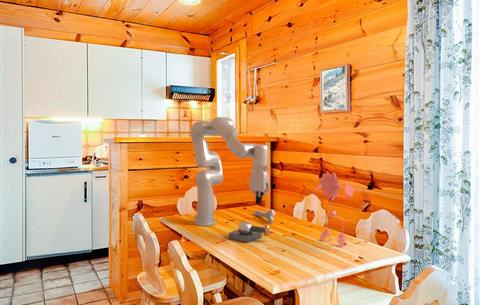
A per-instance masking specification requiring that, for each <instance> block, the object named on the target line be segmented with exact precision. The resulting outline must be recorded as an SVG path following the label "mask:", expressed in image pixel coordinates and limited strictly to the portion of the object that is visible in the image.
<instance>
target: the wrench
mask: <svg viewBox="0 0 480 305" xmlns="http://www.w3.org/2000/svg"><path fill="white" fill-rule="evenodd" d="M253 214H254V215H255V216H258V217H262V218H266V220H267V221H268V224H271V223H273V222H274V221H275V219H274V218H273V216H276V213H275V209H269V210H268V211H267V212H266V211H262V210H253Z"/></svg>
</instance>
